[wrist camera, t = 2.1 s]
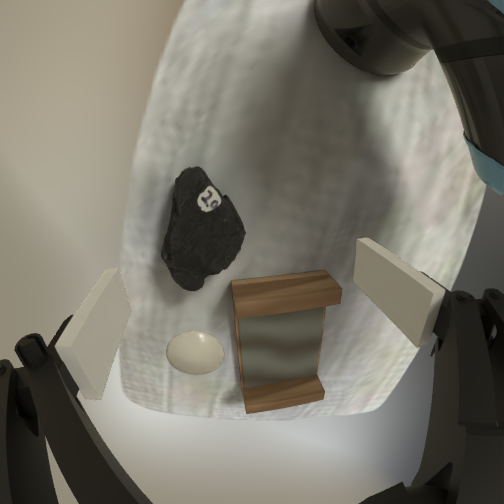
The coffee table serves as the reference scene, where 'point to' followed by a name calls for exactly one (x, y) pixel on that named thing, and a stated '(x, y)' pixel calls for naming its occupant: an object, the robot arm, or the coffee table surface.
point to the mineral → (200, 231)
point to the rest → (281, 337)
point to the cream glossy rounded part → (195, 352)
